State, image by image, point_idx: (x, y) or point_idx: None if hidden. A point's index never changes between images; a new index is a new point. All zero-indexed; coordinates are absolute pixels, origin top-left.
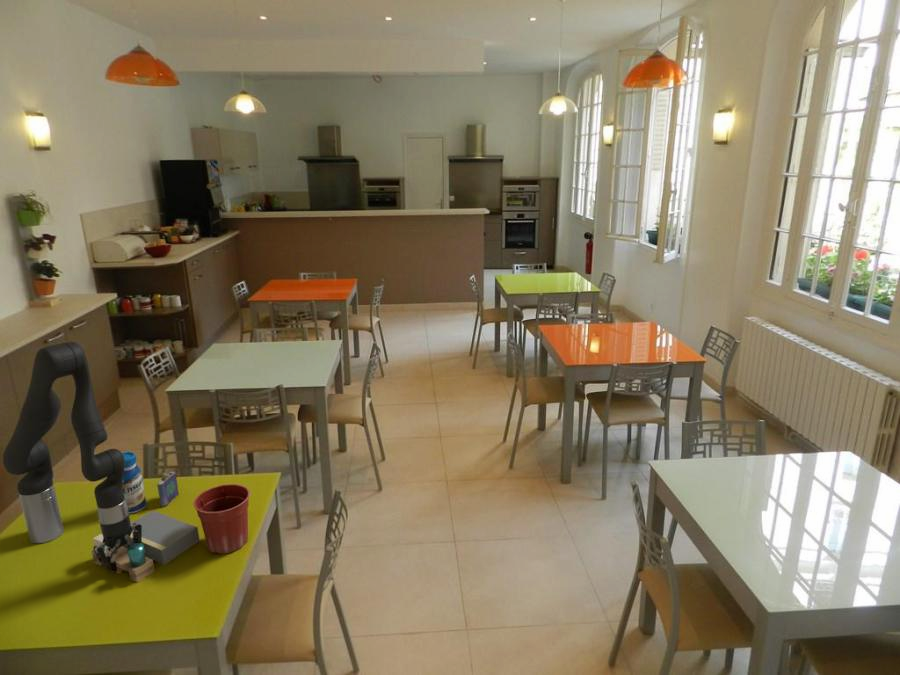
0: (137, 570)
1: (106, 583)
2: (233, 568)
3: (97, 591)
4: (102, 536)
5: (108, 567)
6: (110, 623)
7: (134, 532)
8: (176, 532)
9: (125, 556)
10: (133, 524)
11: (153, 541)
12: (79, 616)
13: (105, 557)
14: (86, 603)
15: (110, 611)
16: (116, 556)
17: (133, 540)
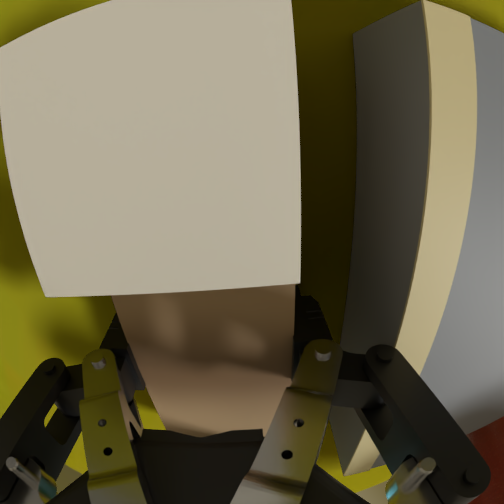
0: None
1: (93, 337)
2: (370, 484)
3: (53, 346)
4: (110, 128)
5: (111, 326)
6: (75, 452)
7: (406, 445)
8: (479, 408)
9: (221, 388)
10: (458, 500)
11: None
12: (5, 384)
13: (67, 445)
14: (19, 362)
15: (80, 435)
16: (176, 345)
17: (360, 384)
